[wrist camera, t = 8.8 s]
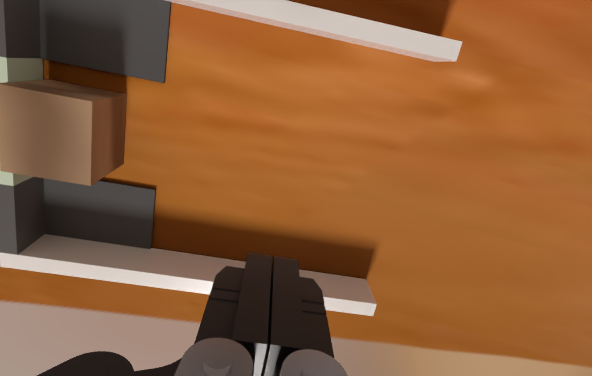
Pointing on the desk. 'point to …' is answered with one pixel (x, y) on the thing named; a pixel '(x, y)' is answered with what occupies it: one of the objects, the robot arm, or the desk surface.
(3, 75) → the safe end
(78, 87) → the walnut block
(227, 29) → the desk surface
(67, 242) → the box
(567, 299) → the desk surface
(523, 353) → the desk surface
